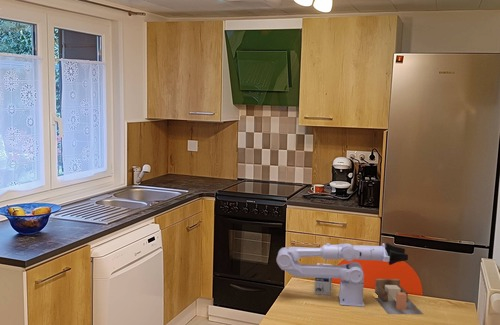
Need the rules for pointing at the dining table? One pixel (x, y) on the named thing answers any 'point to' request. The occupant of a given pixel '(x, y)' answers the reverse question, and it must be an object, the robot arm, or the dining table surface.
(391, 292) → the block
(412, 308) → the panel
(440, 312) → the dining table surface
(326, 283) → the light bulb box
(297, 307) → the dining table surface
